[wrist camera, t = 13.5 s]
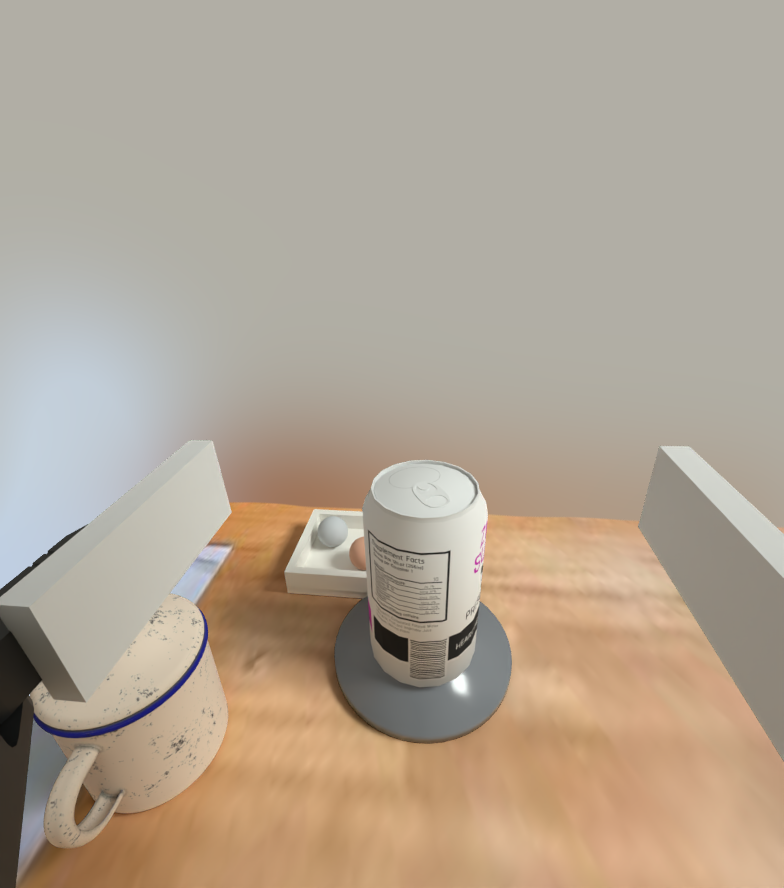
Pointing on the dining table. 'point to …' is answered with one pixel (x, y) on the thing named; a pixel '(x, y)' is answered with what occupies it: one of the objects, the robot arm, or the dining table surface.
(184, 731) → the teacup with lid
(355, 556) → the ball terracotta
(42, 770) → the dining table surface
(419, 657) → the supplement can
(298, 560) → the ball dish
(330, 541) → the ball grey
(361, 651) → the slate coaster
